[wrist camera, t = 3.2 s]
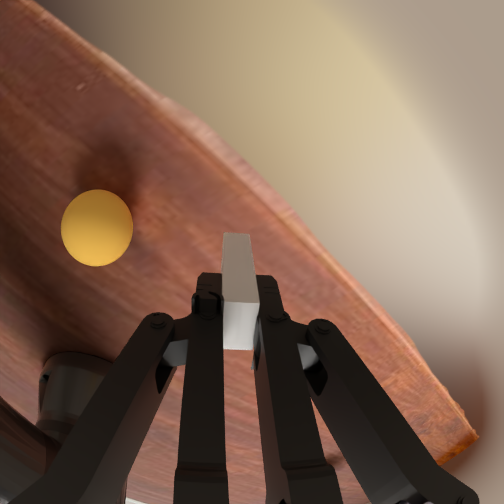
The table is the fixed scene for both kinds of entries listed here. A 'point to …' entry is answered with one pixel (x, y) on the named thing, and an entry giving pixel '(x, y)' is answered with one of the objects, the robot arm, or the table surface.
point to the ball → (96, 227)
